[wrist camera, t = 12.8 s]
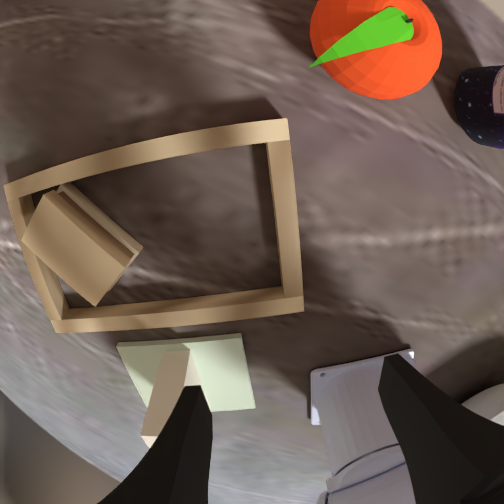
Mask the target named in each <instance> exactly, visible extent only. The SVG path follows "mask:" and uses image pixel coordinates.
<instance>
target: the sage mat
mask: <svg viewBox="0 0 504 504" xmlns="http://www.w3.org/2000/svg"><path fill="white" fill-rule="evenodd" d="M116 347H117V350H118V352H119V354H120V356H121V358H122V360H123V362H124V364H125V366H126V369H127V371H128V373H129V375H130V377H131V378H132V380H133V382H134V384H135V386H136V388H137V390H138V392H139V394H140V396H141V398H142V399H143V401H144V403H145V405H146V407H147V408H148V405H149V401H150V397H151V393H152V390H153V386H154V382H155V379H156V375H157V371H158V368H159V364H160V361H161V357H162V354H163V352H168V351H182V350H191V353H192V356H193V359H194V362H195V365H196V368H197V371H198V374H199V377H200V380H201V382H202V385H203V388H204V391H205V394H206V396H207V399H208V402H209V405H210V411H211V412H212V411H228V410H240V409H251V408H255V400H254V395H253V390H252V385H251V380H250V376H249V371H248V366H247V361H246V356H245V350H244V345H243V340H242V335H241V333H235V334H225V335H216V336H205V337H194V338H182V339H169V340H154V341H137V342H118V344H117V346H116Z"/></svg>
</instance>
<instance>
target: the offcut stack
mask: <svg viewBox="0 0 504 504" xmlns="http://www.w3.org/2000/svg"><path fill="white" fill-rule="evenodd" d="M21 241H22V242H23V243H24V244H25V245H26V246H27V247H28V248H29V249H30V250H31V251H32V252H33V253H34V254H35V255H36V256H37V257H38V258H40V259H41V260H42V261H43V262H44V263H45V264H46V265H47V266H48V267H49V268H50V269H51V270H53V271H54V272H55V273H56V274H57V275H58V276H59V277H60V278H61V279H63V280H64V281H65V282H66V283H67V284H68V285H69V286H71V287H72V288H73V289H74V290H75V291H76V292H78V293H79V294H80V295H81V296H82V297H84V298H85V299H86V300H87V301H89V302H90V303H91V304H92V305H93V306H95V307H96V305H97V304H98V303H99V301H100V300H101V299H102V297H103V296H104V295H105V293H106V292H107V291H108V292H109V291H110V290H111V289H112V287H113V286H114V285H115V283H116V282H117V281H118V279H119V278H120V277H121V276H122V274H123V273H124V272H125V270H126V269H127V268H128V267H129V265H130V264H131V263H132V262H133V260H134V259H135V258H136V257H137V255H138V254H139V253H140V251H141V250H142V249H143V246H142V245H141V244H139V243H138V242H137V241H136V240H135V239H133V238H132V237H131V236H130V235H129V234H128V233H126V232H125V231H124V230H123V229H122V228H121V227H119V226H118V225H117V224H116V223H115V222H114V221H113V220H111V219H110V218H109V217H108V216H107V215H106V214H105V213H104V212H102V211H101V210H100V209H99V208H98V207H97V206H96V205H95V204H93V203H92V202H91V201H90V200H89V199H88V198H87V197H86V196H85V195H84V194H82V193H81V192H80V191H79V190H78V189H77V188H76V187H75V186H74V185H73V184H72V183H71V182H67V183H63V184H60V186H59V188H58V190H57V191H56V192H55V191H54V190H52V191H50V192H48V193H46V194H43V196H42V198H41V200H40V202H39V204H38V206H37V208H36V210H35V212H34V214H33V216H32V218H31V220H30V222H29V224H28V226H27V229H26V231H25V233H24V235H23V237H22V240H21Z"/></svg>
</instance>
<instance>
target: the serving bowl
mask: <svg viewBox="0 0 504 504" xmlns="http://www.w3.org/2000/svg"><path fill="white" fill-rule="evenodd" d="M461 405H463V406H464V407H466V408H468V409H469V410H471V411H473V412H475V413H476V414H478V415H480V416H482V417H485V418H487V419H489V420H491V421H493V422H495V423H498V424H500V425H503V426H504V384H500V385H496V386H493V387H491V388H488V389H486V390H484V391H482V392H480V393H478V394H476V395H475V396H473V397H471V398H470V399H468V400H467V401H465V402H464V403H462V404H461Z"/></svg>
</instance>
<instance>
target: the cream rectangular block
mask: <svg viewBox="0 0 504 504" xmlns="http://www.w3.org/2000/svg"><path fill="white" fill-rule="evenodd" d="M193 385H201V388H202V390H203V393H204V396H205V398H206V401H207V403H208V406H209V409H210V405H209V402H208V399H207V396H206V394H205V391H204V388H203V385H202V382H201V380H200V377H199V374H198V371H197V368H196V365H195V362H194V359H193V356H192V353H191V350H182V351H168V352H163V354H162V357H161V361H160V364H159V368H158V371H157V375H156V379H155V382H154V386H153V390H152V393H151V397H150V401H149V405H148V408H147V412H146V416H145V420H144V424H143V428H142V432H141V437H142V439H143V440H144V441H145V443H146V444H147V446H148V447H149V448H151V446H152V445H153V443H154V441H155V440H156V438H157V437H158V435H159V434H160V432H161V430H162V429H163V427H164V425H165V423H166V422H167V420H168V418H169V416H170V415H171V413H172V411H173V409H174V407H175V405H176V403H177V401H178V399H179V397H180V394H181V392H182V390H183V388H184V387H185V386H193Z"/></svg>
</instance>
